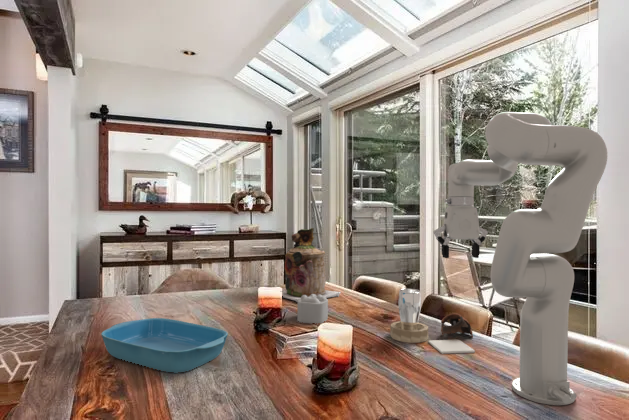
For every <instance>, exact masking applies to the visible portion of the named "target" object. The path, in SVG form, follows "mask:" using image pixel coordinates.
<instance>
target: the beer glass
mask: <svg viewBox="0 0 629 420" xmlns="http://www.w3.org/2000/svg"><path fill="white" fill-rule="evenodd" d="M398 292H399V294H398V312H399V318H400V320H399V321H401V329H404V330H418V322H419V319H420V314H421V309H422V308H421V304H422V303H421V291H420V290H419V289H415V288H401V289H399V291H398Z"/></svg>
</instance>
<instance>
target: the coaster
mask: <svg viewBox="0 0 629 420" xmlns="http://www.w3.org/2000/svg"><path fill="white" fill-rule="evenodd" d="M427 342H428V344H429V345H431V346H432V347H433V348H434V349H436V350H437V351H438V352H439V353H440V354H442V355H444V354H468V353H469V354H471V353H476V350H475V349H473V347H470V346H469V345H468V344H466V343H465V342H463V341H462V340H460V339H439V340H438V339H437V340H436V339H434V340H433V339H432V340H431V339H430V340H429V339H428V340H427Z"/></svg>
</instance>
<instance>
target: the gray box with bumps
mask: <svg viewBox="0 0 629 420" xmlns="http://www.w3.org/2000/svg"><path fill="white" fill-rule="evenodd" d="M296 312H297V315H296V316H297V320H296V321H297V322H298V321H299V322H298V323H302V322H303V323H305V324H312V323H315V324H314V325H316V323H317V325H318V323H320V324H323V323H325V322H326V321H327V320H329V318H328V317H329V298H326V297H324V296H322V295H321V294H319V295H318V296H316V295H315V294H311V295H310V296H309V297H307V296H306V295H302V297H301V299H300V300H298V302H297V311H296ZM324 321H325V322H324Z"/></svg>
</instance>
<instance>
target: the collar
mask: <svg viewBox="0 0 629 420" xmlns="http://www.w3.org/2000/svg"><path fill="white" fill-rule="evenodd" d="M389 328H390V332H389V333H390V334H389V335H390V337H391V338H392V340H395V341H398V342H403V343H419V344H420V343H423V342H428V340H429V326H428V325H426V323H421V322H419V321H418V330H404V329H401V320H398V321H394V322H392V323H391V324H390V327H389Z"/></svg>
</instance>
